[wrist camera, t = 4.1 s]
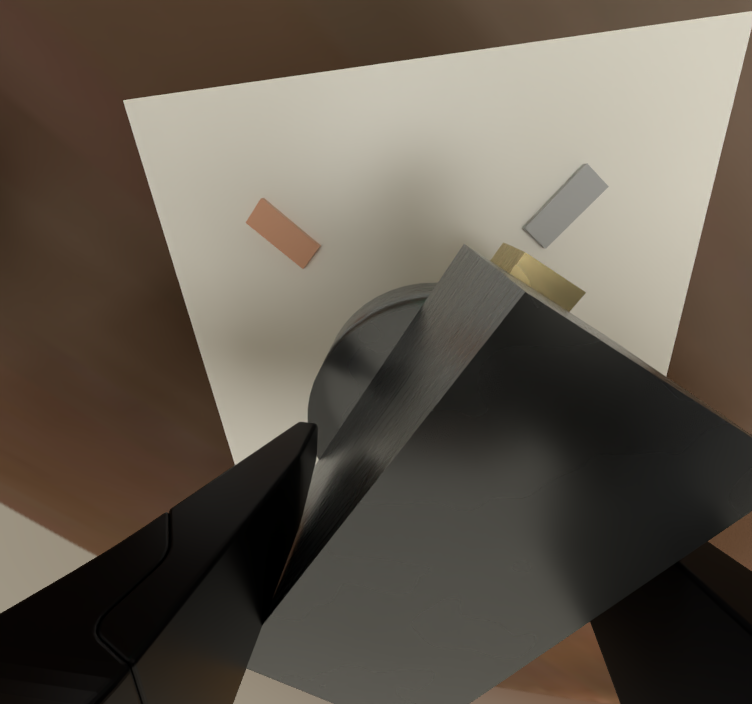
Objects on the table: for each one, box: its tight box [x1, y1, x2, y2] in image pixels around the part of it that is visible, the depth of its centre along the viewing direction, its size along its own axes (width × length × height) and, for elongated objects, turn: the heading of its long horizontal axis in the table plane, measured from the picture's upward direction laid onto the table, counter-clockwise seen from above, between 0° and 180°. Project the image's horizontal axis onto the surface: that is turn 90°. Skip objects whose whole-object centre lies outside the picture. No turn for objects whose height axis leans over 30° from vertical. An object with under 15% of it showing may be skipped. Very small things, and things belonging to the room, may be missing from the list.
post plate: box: [123, 11, 752, 465], centre depth 13 cm, size 18×18×4 cm
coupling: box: [247, 242, 752, 704], centre depth 8 cm, size 8×6×6 cm
